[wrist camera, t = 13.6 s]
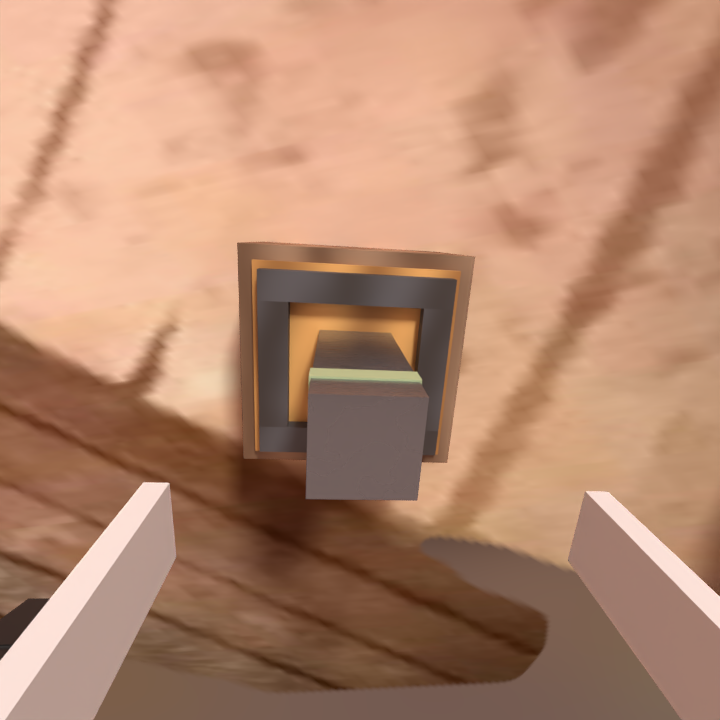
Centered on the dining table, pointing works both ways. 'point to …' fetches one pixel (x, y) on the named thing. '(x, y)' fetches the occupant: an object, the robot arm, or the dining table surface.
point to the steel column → (364, 419)
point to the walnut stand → (344, 313)
